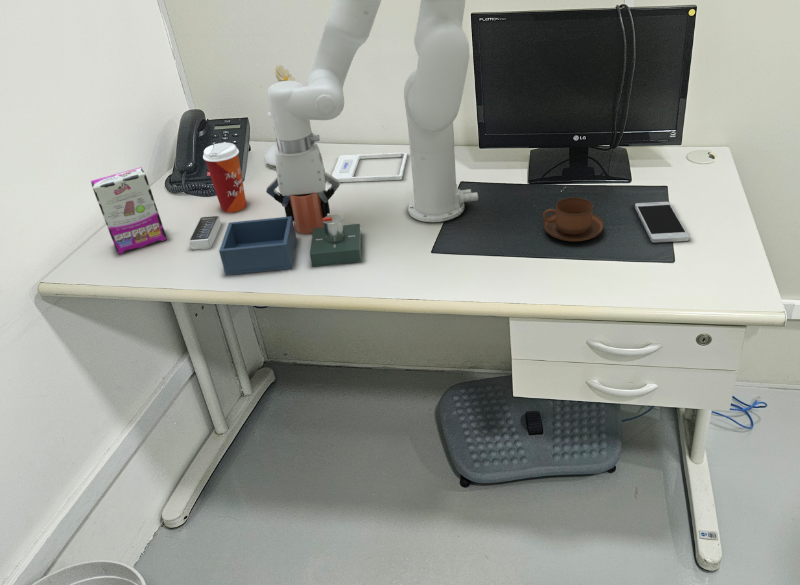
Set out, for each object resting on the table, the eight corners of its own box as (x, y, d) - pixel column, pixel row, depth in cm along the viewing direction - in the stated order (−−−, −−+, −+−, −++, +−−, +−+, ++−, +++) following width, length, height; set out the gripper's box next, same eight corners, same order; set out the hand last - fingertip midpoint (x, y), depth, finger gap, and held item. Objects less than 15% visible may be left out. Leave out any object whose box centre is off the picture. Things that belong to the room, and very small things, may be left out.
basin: (296, 239, 154) (291, 216, 151) (291, 268, 144) (286, 244, 141) (234, 245, 155) (228, 222, 151) (225, 275, 145) (218, 251, 141)
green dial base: (361, 235, 153) (359, 222, 151) (360, 262, 144) (359, 248, 142) (315, 240, 153) (313, 227, 152) (312, 266, 144) (309, 253, 142)
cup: (326, 217, 162) (320, 181, 157) (324, 232, 156) (318, 195, 151) (296, 220, 162) (289, 185, 157) (294, 235, 156) (286, 198, 151)
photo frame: (339, 154, 188) (407, 151, 186) (340, 158, 189) (407, 155, 187) (329, 178, 176) (401, 175, 174) (330, 182, 177) (401, 179, 175)
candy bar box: (163, 231, 163) (142, 165, 154) (167, 240, 160) (146, 173, 150) (113, 246, 160) (89, 179, 150) (117, 255, 156) (92, 187, 147)
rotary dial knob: (345, 232, 149) (342, 212, 146) (344, 241, 145) (341, 221, 143) (326, 234, 149) (322, 214, 146) (325, 243, 145) (321, 223, 143)
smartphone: (651, 242, 140) (652, 238, 139) (634, 206, 152) (634, 202, 152) (689, 240, 139) (690, 236, 138) (668, 205, 152) (668, 201, 151)
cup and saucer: (554, 251, 141) (555, 223, 137) (535, 223, 151) (536, 197, 147) (612, 241, 142) (615, 214, 138) (590, 214, 152) (591, 188, 148)
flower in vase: (289, 173, 184) (270, 77, 170) (257, 166, 190) (236, 73, 176) (320, 154, 193) (305, 62, 179) (288, 148, 199) (271, 58, 185)
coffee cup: (243, 215, 167) (229, 155, 158) (211, 214, 168) (195, 155, 160) (256, 199, 173) (243, 141, 165) (225, 198, 175) (210, 141, 167)
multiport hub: (191, 250, 155) (188, 240, 154) (202, 225, 164) (200, 217, 163) (210, 248, 155) (208, 239, 153) (221, 224, 164) (219, 215, 162)
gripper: (337, 131, 151) (348, 206, 161) (256, 140, 151) (272, 214, 161) (335, 145, 144) (347, 222, 154) (251, 153, 145) (268, 230, 155)
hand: (308, 217), depth 158 cm, fingers closed on cup, 6 cm apart
